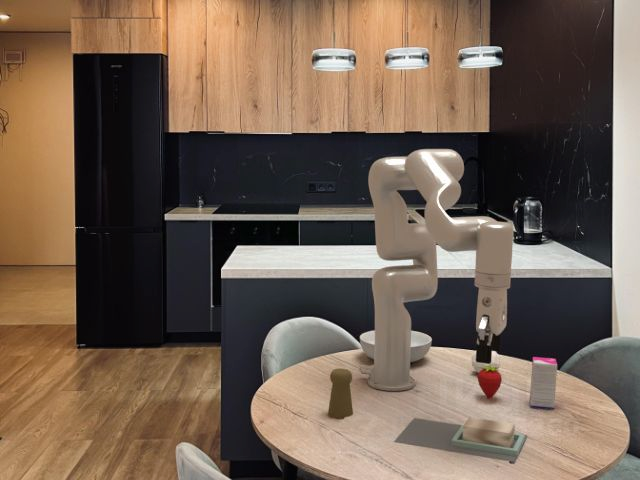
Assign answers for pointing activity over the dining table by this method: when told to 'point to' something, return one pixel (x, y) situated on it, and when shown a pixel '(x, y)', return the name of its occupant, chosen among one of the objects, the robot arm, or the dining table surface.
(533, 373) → the supplement box
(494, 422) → the beige block
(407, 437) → the charcoal mat
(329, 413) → the cork
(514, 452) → the teal frame
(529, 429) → the dining table surface
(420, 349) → the serving bowl
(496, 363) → the geometric ball
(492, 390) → the strawberry
